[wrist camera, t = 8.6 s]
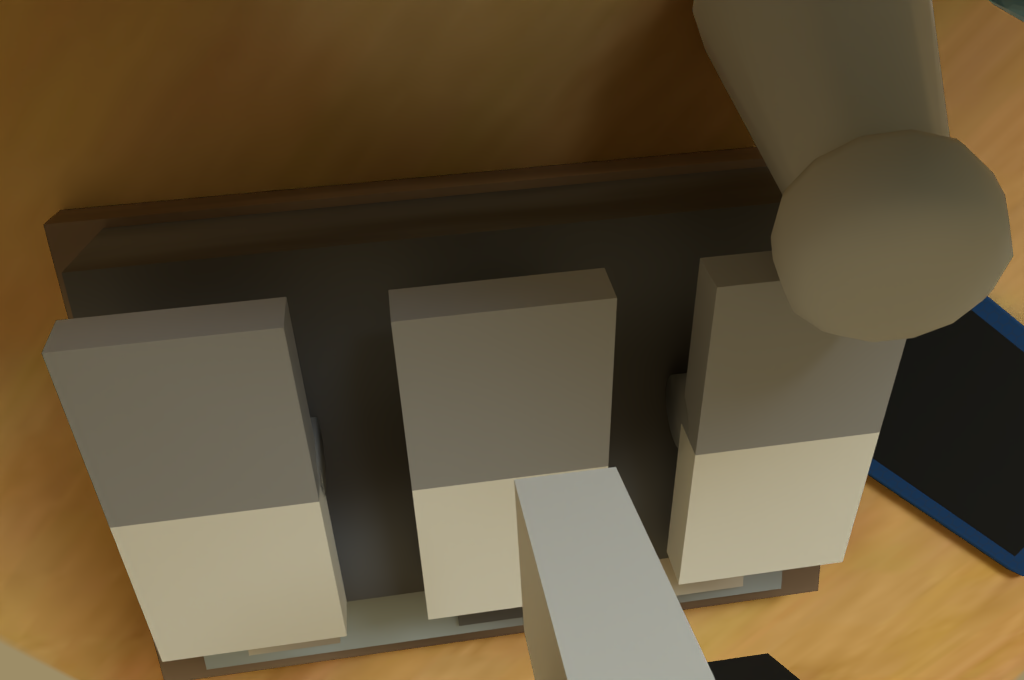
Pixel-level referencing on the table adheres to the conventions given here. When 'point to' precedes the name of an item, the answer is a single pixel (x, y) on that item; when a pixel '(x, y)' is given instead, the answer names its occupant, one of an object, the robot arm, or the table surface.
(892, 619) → the table surface
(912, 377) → the cell phone
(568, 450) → the middle rocker
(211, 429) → the left rocker
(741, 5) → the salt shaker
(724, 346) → the right rocker
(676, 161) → the switch console
